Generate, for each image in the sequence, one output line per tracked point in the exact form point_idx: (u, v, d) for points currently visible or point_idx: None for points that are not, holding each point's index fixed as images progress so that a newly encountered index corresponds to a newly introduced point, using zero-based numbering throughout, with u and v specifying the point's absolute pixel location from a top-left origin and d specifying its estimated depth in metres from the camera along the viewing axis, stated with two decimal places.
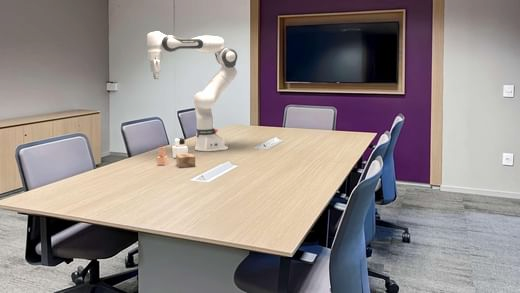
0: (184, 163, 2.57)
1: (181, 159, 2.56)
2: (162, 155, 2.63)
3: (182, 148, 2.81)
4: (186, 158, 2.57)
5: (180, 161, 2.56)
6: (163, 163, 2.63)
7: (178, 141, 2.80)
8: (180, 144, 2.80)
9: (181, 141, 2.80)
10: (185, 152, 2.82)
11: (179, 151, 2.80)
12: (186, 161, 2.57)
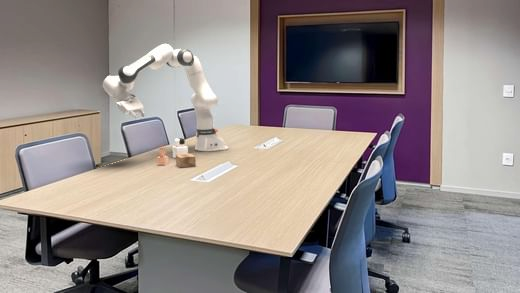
0: (184, 163, 2.57)
1: (182, 159, 2.56)
2: (162, 155, 2.63)
3: (182, 148, 2.81)
4: (186, 158, 2.57)
5: (181, 161, 2.56)
6: (163, 163, 2.63)
7: (178, 141, 2.80)
8: (180, 144, 2.80)
9: (181, 141, 2.80)
10: (185, 152, 2.82)
11: (179, 151, 2.80)
12: (186, 161, 2.57)
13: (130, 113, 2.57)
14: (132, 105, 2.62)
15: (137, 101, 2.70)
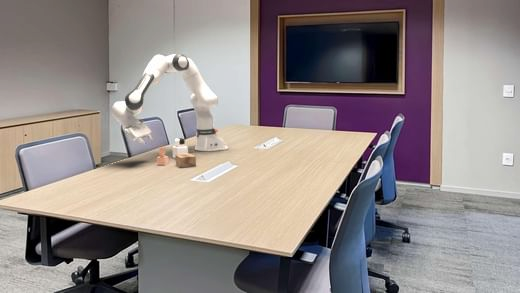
0: (185, 163, 2.57)
1: (182, 159, 2.56)
2: (162, 155, 2.63)
3: (182, 148, 2.81)
4: (187, 158, 2.57)
5: (181, 161, 2.56)
6: (163, 163, 2.63)
7: (178, 141, 2.80)
8: (180, 144, 2.80)
9: (181, 141, 2.80)
10: (185, 152, 2.82)
11: (179, 151, 2.80)
12: (187, 161, 2.57)
13: (138, 139, 2.59)
14: (140, 131, 2.64)
15: (144, 126, 2.72)
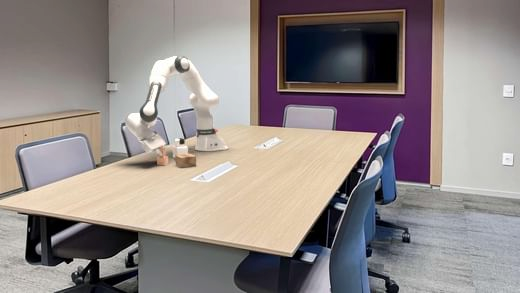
0: (185, 163, 2.57)
1: (183, 159, 2.56)
2: (162, 155, 2.63)
3: (182, 148, 2.81)
4: (187, 158, 2.57)
5: (182, 161, 2.56)
6: (163, 163, 2.63)
7: (178, 141, 2.80)
8: (180, 144, 2.80)
9: (181, 141, 2.80)
10: (185, 152, 2.82)
11: (179, 151, 2.80)
12: (187, 161, 2.57)
13: (155, 151, 2.61)
14: (155, 143, 2.63)
15: (159, 137, 2.71)
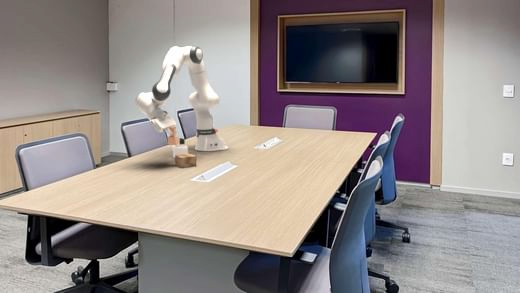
0: (186, 163, 2.57)
1: (183, 159, 2.56)
2: (173, 135, 2.59)
3: (182, 148, 2.81)
4: (188, 158, 2.57)
5: (182, 161, 2.56)
6: (174, 143, 2.59)
7: None
8: (180, 144, 2.80)
9: (181, 141, 2.80)
10: (185, 152, 2.82)
11: (179, 151, 2.80)
12: (188, 161, 2.57)
13: (166, 130, 2.57)
14: (165, 122, 2.59)
15: (169, 117, 2.67)
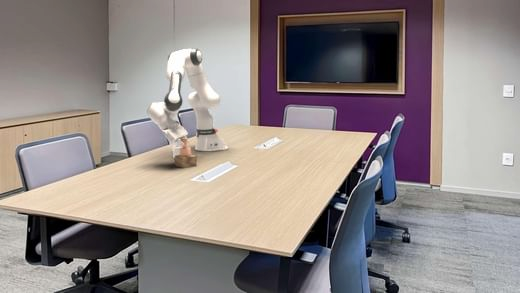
0: (186, 163, 2.57)
1: (184, 159, 2.56)
2: (185, 146, 2.59)
3: None
4: (188, 158, 2.57)
5: (183, 161, 2.56)
6: (186, 154, 2.58)
7: None
8: None
9: None
10: None
11: (179, 151, 2.80)
12: (188, 161, 2.58)
13: (177, 141, 2.55)
14: (178, 132, 2.58)
15: (181, 127, 2.67)
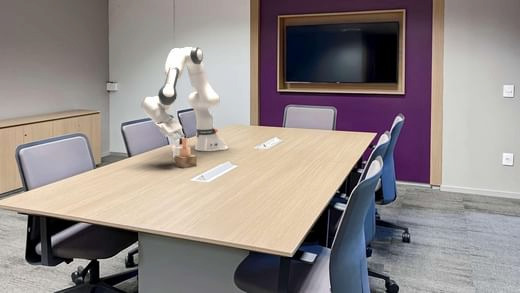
0: (186, 163, 2.57)
1: (184, 159, 2.56)
2: (185, 146, 2.58)
3: None
4: (188, 158, 2.57)
5: (183, 161, 2.55)
6: (186, 154, 2.58)
7: (178, 141, 2.80)
8: (180, 144, 2.80)
9: (181, 141, 2.80)
10: None
11: (179, 151, 2.80)
12: (188, 161, 2.57)
13: (171, 135, 2.54)
14: (172, 126, 2.58)
15: (175, 121, 2.67)
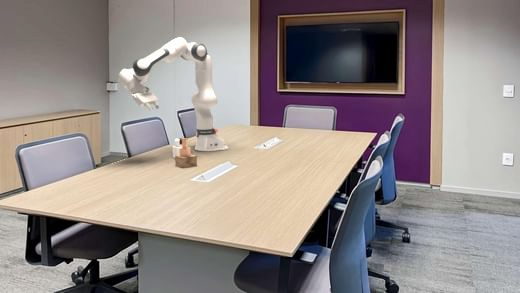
0: (187, 163, 2.57)
1: (184, 159, 2.56)
2: (185, 146, 2.58)
3: None
4: (189, 158, 2.57)
5: (183, 161, 2.56)
6: (186, 154, 2.58)
7: (178, 141, 2.80)
8: (180, 144, 2.80)
9: (181, 141, 2.80)
10: None
11: (179, 151, 2.80)
12: (189, 161, 2.58)
13: (145, 105, 2.64)
14: (147, 97, 2.69)
15: (151, 93, 2.77)
